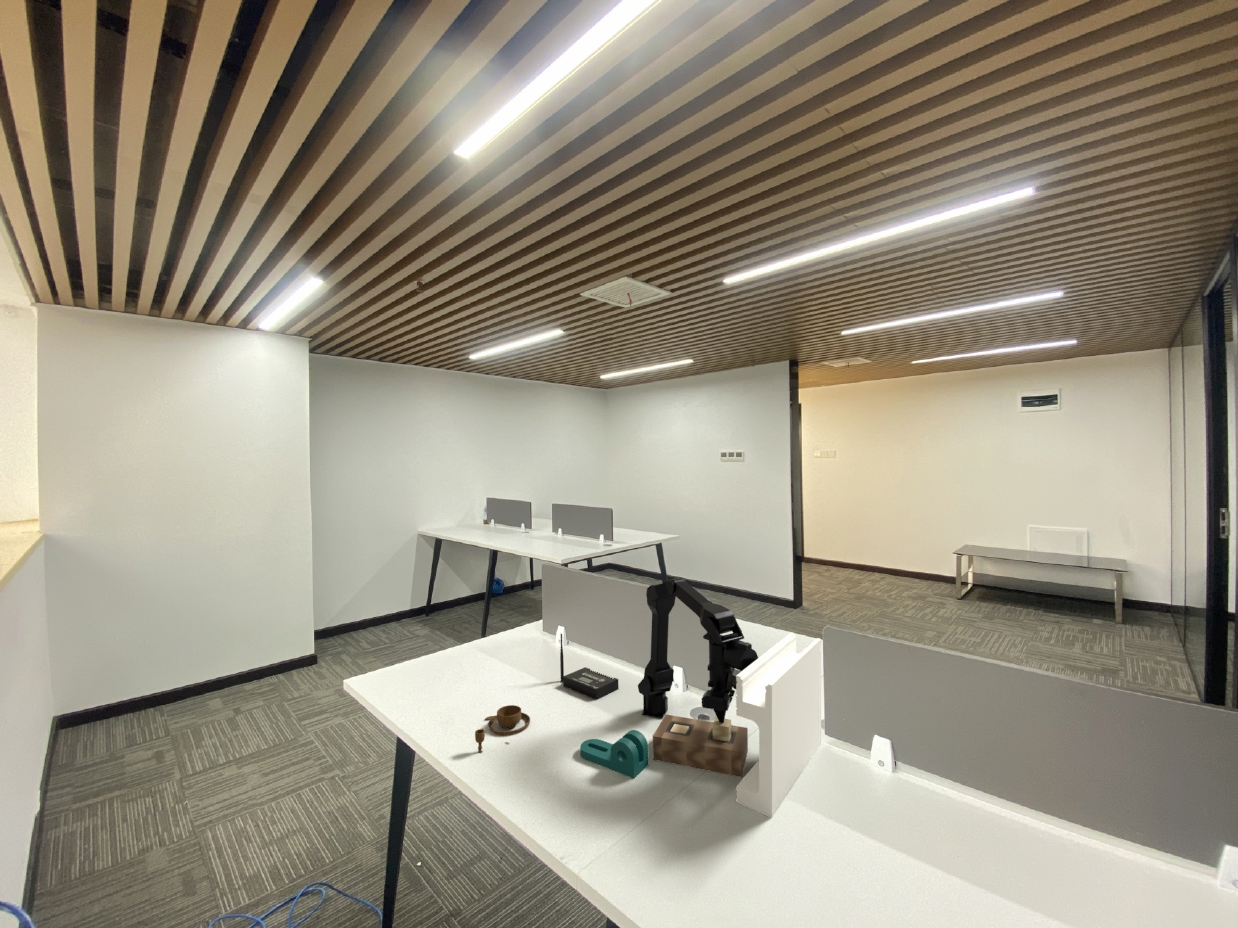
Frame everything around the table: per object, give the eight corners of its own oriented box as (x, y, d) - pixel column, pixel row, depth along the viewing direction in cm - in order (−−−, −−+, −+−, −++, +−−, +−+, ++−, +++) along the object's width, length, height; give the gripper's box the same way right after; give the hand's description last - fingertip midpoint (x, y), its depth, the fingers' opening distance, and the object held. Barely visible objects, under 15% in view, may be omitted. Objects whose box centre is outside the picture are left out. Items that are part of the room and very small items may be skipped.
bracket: (648, 765, 128) (647, 733, 128) (634, 779, 122) (633, 746, 122) (591, 744, 138) (590, 715, 138) (575, 756, 132) (574, 726, 132)
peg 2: (712, 747, 128) (712, 724, 128) (715, 739, 132) (715, 717, 132) (729, 750, 127) (728, 727, 127) (731, 741, 131) (731, 719, 131)
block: (772, 817, 108) (772, 685, 108) (736, 802, 113) (736, 675, 112) (820, 744, 136) (820, 638, 135) (790, 734, 140) (790, 632, 140)
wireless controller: (622, 688, 173) (621, 637, 173) (592, 703, 162) (591, 649, 162) (581, 673, 186) (580, 626, 186) (551, 686, 176) (550, 636, 176)
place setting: (543, 731, 146) (543, 710, 146) (478, 758, 133) (478, 736, 133) (512, 710, 159) (512, 691, 159) (450, 733, 146) (450, 712, 146)
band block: (653, 759, 130) (652, 736, 130) (666, 736, 141) (665, 714, 141) (741, 777, 122) (740, 752, 122) (747, 750, 133) (747, 727, 133)
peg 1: (670, 753, 132) (670, 731, 132) (674, 745, 136) (674, 723, 136) (685, 756, 131) (685, 733, 131) (689, 747, 135) (689, 726, 135)
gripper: (748, 678, 118) (749, 746, 118) (757, 651, 135) (758, 710, 135) (700, 672, 122) (701, 738, 122) (715, 646, 139) (716, 704, 139)
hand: (721, 722), depth 129 cm, fingers closed, pressing on peg 2
